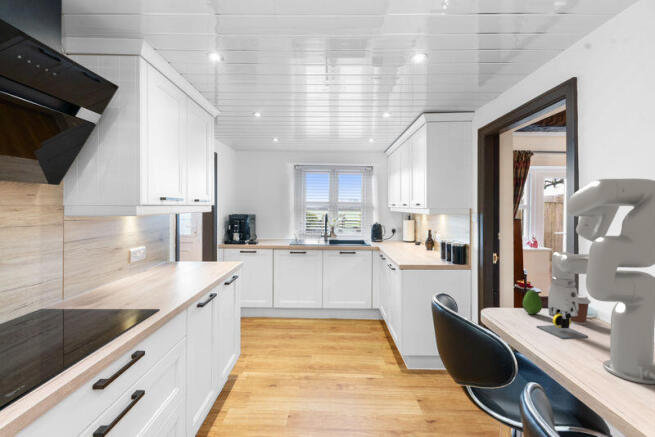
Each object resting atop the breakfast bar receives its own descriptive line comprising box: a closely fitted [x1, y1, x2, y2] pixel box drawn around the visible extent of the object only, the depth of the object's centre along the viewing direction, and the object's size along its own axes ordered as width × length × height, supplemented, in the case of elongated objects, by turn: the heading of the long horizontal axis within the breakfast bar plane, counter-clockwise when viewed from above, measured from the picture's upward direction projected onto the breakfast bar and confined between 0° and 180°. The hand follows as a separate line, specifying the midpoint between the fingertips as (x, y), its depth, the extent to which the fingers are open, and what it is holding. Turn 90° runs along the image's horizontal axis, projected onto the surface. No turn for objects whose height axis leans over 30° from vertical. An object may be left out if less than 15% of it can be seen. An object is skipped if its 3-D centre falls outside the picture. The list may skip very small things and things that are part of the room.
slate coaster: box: [536, 324, 589, 340], centre depth 128 cm, size 12×12×1 cm
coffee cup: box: [570, 293, 592, 325], centre depth 141 cm, size 9×9×12 cm
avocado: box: [522, 289, 543, 315], centre depth 151 cm, size 8×8×12 cm
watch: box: [552, 313, 572, 328], centre depth 128 cm, size 6×3×6 cm, turn 81°
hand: (561, 326), depth 128 cm, fingers closed on watch, 2 cm apart
